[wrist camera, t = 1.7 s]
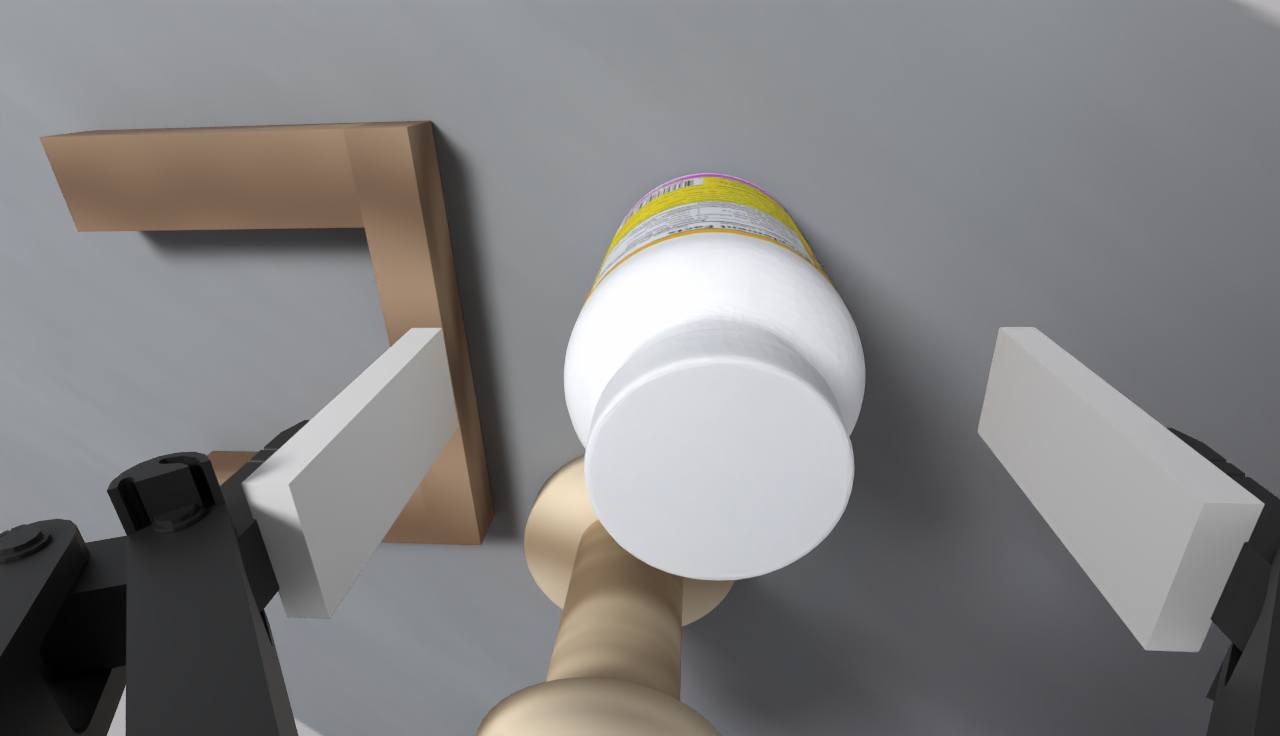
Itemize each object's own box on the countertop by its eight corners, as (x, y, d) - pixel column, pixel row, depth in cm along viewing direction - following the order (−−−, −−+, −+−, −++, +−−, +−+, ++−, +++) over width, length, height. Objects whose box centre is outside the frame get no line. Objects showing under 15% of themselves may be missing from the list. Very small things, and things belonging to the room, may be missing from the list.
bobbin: (519, 445, 27) (411, 684, 17) (742, 449, 26) (770, 700, 16) (541, 609, 30) (464, 882, 20) (735, 616, 30) (754, 904, 20)
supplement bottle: (760, 374, 24) (817, 662, 13) (590, 322, 24) (492, 571, 12) (835, 202, 21) (994, 375, 10) (642, 140, 21) (576, 244, 10)
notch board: (92, 130, 22) (39, 137, 21) (431, 120, 21) (406, 126, 20) (233, 507, 29) (203, 537, 27) (494, 513, 28) (481, 545, 26)
